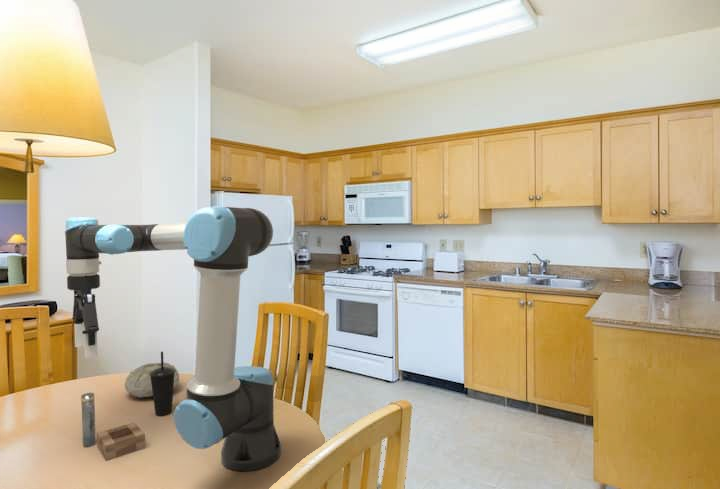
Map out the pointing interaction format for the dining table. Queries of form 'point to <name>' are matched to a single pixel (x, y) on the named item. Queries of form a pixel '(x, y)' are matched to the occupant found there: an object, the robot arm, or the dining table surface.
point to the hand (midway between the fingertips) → (85, 351)
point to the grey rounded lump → (145, 380)
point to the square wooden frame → (120, 441)
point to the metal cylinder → (88, 419)
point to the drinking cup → (162, 389)
